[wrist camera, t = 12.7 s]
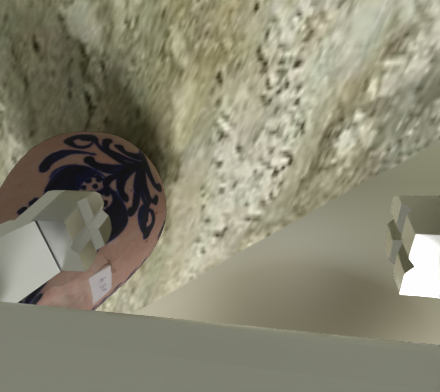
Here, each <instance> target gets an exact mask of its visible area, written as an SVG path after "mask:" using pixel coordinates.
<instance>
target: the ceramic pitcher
mask: <svg viewBox="0 0 440 392" xmlns="http://www.w3.org/2000/svg"><path fill="white" fill-rule="evenodd" d="M52 190H66V191H67V190H72V191H96V192H98V193H99V194H101V197H102V199H103V201H104V206H103V208H102V210H103V211H104V212H105V213H106V214H107V215H109V218H110V221H111V234H110V238H109V240H108V241H107V243H106V244H105V246H103V247H101V248H100V249H98V250H97V255H98V256H97V257H96V259H95V260H94V261H93V263H92V264H91V266H90V267H89V268H88V270H87V271H86V272H83V271H60V273H58V274H57V275H55V276H54V277H53V278H51V279H50V280H48V281H47V282H46V283H44V284H43V285H41V286H40V287H39V288H37V289H36V290H34V291H33V292H32V293H30V294H29V295H27V296H26V297H25V298H23V299H22V300H20V301H19V302H18V303H23V304H33V305H43V306H53V307H63V308H73V309H83V310H93V311H94V310H96V309H97V308H98V307H99V306H100V305H101V304H102V303H103V302H104V301H105V300H106V299H107V298H108V297H109V296H111V295H112V294H113V293H114V292H116V291H117V290H118V289H119V288H120V287H121V286H122V285H123V284H124V283H125V282H126V281H127V280H128V279H129V278H130V277H131V276H132V275H133V274H134V273H135V272H136V271H137V270H138V268H139V267H140V266H141V265H142V264H143V263H144V261H145V260H146V259H147V258H148V256H149V255H150V253H151V252H152V251H153V249H154V247H155V246H156V244H157V242H158V240H159V238H160V236H161V233H162V230H163V227H164V224H165V219H166V198H165V192H164V187H163V183H162V181H161V178H160V176H159V174H158V172H157V170H156V168H155V167H154V165H153V164H152V162H151V161H150V160H149V159H148V157H147V156H146V155H145V154H144V153H143V152H142V151H141V150H140V149H138V148H137V147H136V146H134V145H133V144H132V143H130V142H128V141H126V140H125V139H122V138H120V137H118V136H115V135H112V134H108V133H101V132H88V131H84V132H70V133H65V134H61V135H58V136H54V137H52V138H49V139H47V140H45V141H43V142H42V143H40V144H38V145H37V146H35V147H33V148H32V149H31V150H30V151H29V152H28V153H27V154H26V155H25V156H24V157H23V158H21V159H20V160H19V162H18V163H17V164H16V165H15V166H14V168H13V169H12V170H11V172H10V173H9V175H8V176H7V178H6V180H5V181H4V183H3V184H2V186H1V188H0V224H2V223H5V222H7V221H9V220H15V219H17V218H18V217H19V216H20V215H21V214H22V213H24V212H25V211H26V210H27V209H28V208H29V207H30V206H32V205H33V204H34V203H35V202H36V201H37V200H38V199H40V198H41V197H42V196H43V195H44V194H45V193H47V192H48V191H52Z"/></svg>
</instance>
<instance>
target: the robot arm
mask: <svg viewBox="0 0 440 392" xmlns="http://www.w3.org/2000/svg"><path fill="white" fill-rule="evenodd" d="M103 206H104V201H103V199H102V197H101V194H99V193H98V192H96V191H72V190H67V191H66V190H52V191H48V192H47V193H45V194H44V195H43V196H42V197H41V198H40V199H38V200H37V201H36V202H35V203H34V204H33V205H32V206H30V207H29V208H28V209H27V210H26V211H25V212H24V213H22V214H21V215H20V216H19V217H18V218H17V219H15V220H9V221H7V222H5V223H2V224H0V392H440V345H435V344H425V343H413V342H404V341H394V340H383V339H373V338H363V337H353V336H343V335H333V334H323V333H313V332H304V331H294V330H283V329H274V328H263V327H254V326H245V325H235V324H225V323H214V322H204V321H194V320H184V319H173V318H164V317H154V316H144V315H134V314H124V313H114V312H103V311H93V310H83V309H73V308H63V307H53V306H43V305H33V304H23V303H18V302H19V301H20V300H22V299H23V298H25V297H26V296H27V295H29V294H30V293H32V292H33V291H34V290H36V289H37V288H39V287H40V286H41V285H43V284H44V283H46V282H47V281H48V280H50V279H51V278H53V277H54V276H55V275H57V274H58V273H60V271H83V272H86V271H87V270H88V268H89V267H90V266H91V264H92V263H93V261H94V260H95V259H96V257H97V256H98V255H97V250H98V249H100V248H101V247H103V246H105V244H106V243H107V241H108V240H109V238H110V234H111V221H110V218H109V215H107V214H106V213H105V212H104V211H103V210H102V208H103ZM391 213H392V216H393V218H394V219H393V220H392V221H390V222H389V223H388V224H387V231H386V251H387V255H388V259H389V260H390V261H391V262H392V263H394V264H395V267H394V271H393V275H394V278H395V280H396V284H397V287H398V290H399V293H400V294H404V295H414V296H424V297H434V298H440V196H394V199H393V201H392V205H391Z"/></svg>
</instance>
